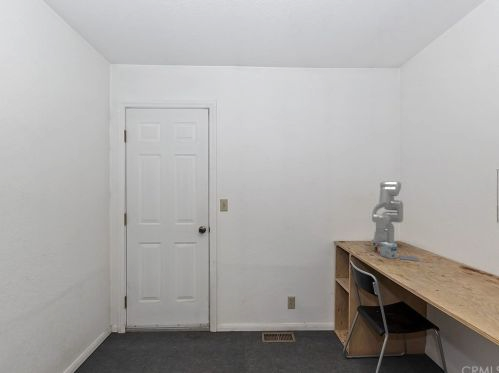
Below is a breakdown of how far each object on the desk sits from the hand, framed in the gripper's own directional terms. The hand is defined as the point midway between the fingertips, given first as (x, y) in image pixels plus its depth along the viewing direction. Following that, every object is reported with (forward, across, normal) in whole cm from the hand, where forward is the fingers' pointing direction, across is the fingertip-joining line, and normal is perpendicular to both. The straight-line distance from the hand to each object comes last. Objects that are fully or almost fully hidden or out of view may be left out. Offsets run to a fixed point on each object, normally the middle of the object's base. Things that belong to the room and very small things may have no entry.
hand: (380, 251), depth 232 cm
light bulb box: (+1, -6, +13) cm, 14 cm away
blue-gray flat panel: (+1, -20, +11) cm, 23 cm away
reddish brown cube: (+1, 0, 0) cm, 1 cm away
